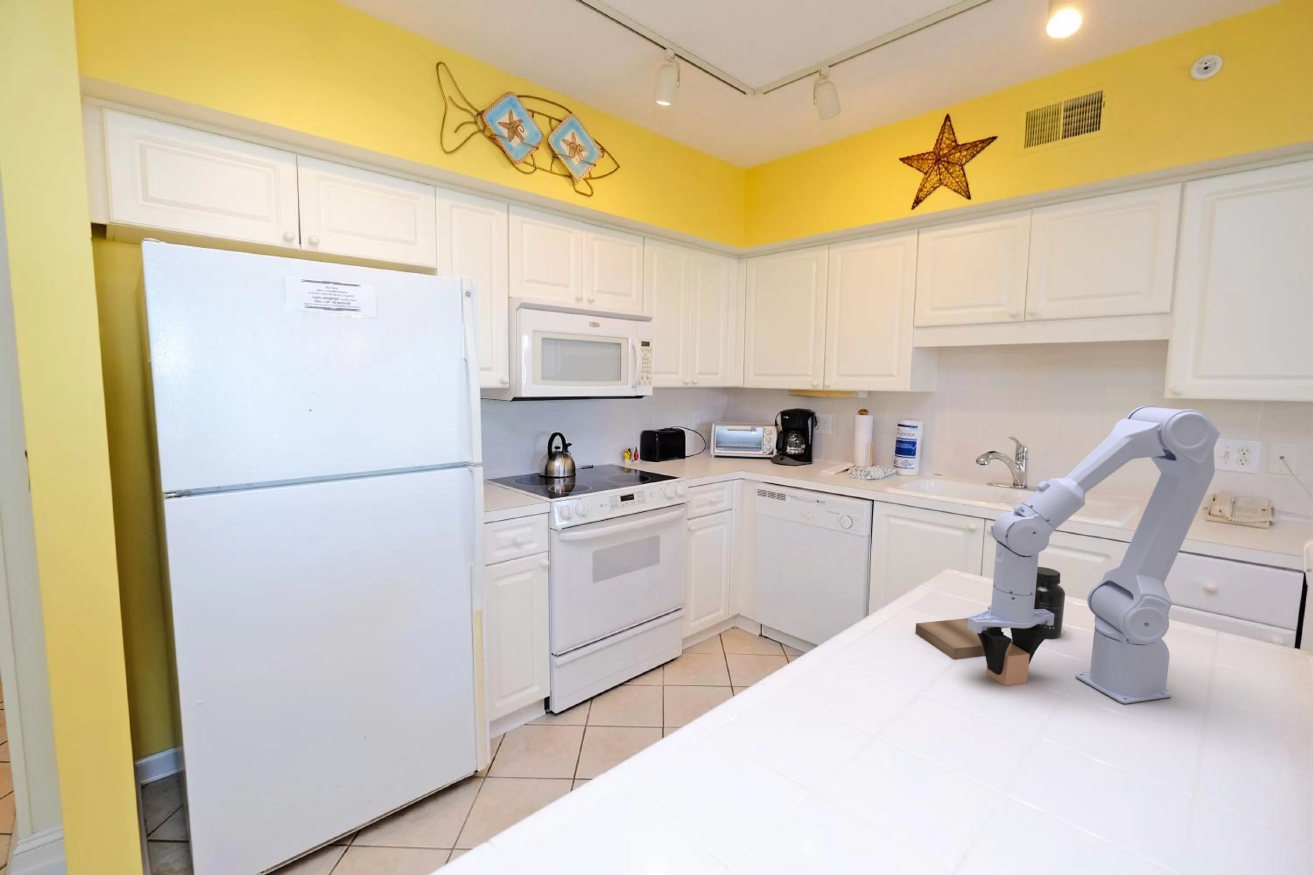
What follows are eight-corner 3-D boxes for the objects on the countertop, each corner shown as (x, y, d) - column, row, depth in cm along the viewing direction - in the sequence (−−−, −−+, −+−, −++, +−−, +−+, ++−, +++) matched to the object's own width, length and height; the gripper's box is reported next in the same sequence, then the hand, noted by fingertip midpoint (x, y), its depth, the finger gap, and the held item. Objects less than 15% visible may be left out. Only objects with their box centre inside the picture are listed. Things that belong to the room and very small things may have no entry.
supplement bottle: (1011, 622, 113) (1016, 563, 112) (1049, 624, 113) (1054, 565, 111) (1029, 638, 107) (1034, 575, 105) (1069, 640, 106) (1075, 577, 104)
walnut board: (969, 630, 111) (970, 617, 111) (1012, 655, 101) (1013, 641, 101) (915, 635, 108) (916, 623, 108) (953, 662, 99) (954, 648, 98)
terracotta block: (1006, 670, 95) (1009, 642, 94) (1026, 683, 91) (1029, 653, 91) (986, 673, 94) (988, 644, 94) (1005, 686, 90) (1008, 656, 90)
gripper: (1030, 576, 96) (1023, 653, 98) (956, 582, 93) (950, 661, 95) (1069, 592, 90) (1061, 674, 91) (989, 599, 86) (983, 684, 88)
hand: (1006, 669), depth 93 cm, fingers open, 4 cm apart
